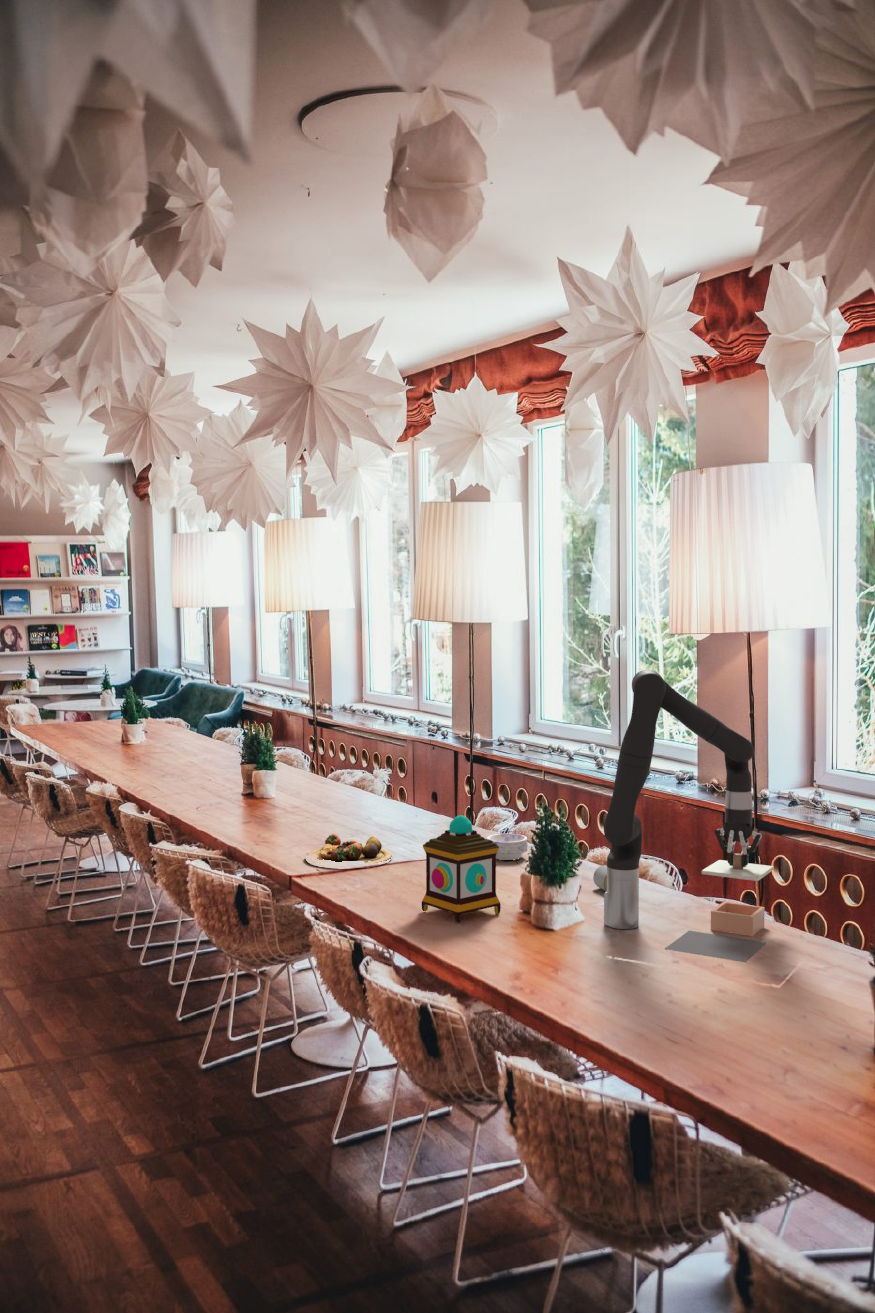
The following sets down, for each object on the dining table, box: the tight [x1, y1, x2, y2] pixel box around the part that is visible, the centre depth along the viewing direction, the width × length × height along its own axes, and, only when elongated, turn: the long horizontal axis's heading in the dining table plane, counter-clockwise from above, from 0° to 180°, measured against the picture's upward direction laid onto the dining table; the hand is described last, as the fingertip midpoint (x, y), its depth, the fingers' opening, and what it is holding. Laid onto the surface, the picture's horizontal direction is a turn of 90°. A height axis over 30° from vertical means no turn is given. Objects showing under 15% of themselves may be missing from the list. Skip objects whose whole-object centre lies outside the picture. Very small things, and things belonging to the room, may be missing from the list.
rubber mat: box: [664, 930, 767, 963], centre depth 306 cm, size 22×20×1 cm
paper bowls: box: [485, 832, 529, 861], centre depth 415 cm, size 15×15×8 cm
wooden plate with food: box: [308, 833, 393, 864], centre depth 414 cm, size 32×32×8 cm
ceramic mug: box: [593, 864, 607, 892], centre depth 368 cm, size 11×8×8 cm
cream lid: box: [701, 852, 775, 882], centre depth 322 cm, size 16×16×5 cm
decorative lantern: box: [421, 814, 502, 924], centre depth 340 cm, size 20×20×30 cm
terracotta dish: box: [710, 901, 766, 937], centre depth 323 cm, size 12×12×6 cm
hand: (738, 865), depth 322 cm, fingers closed on cream lid, 3 cm apart
